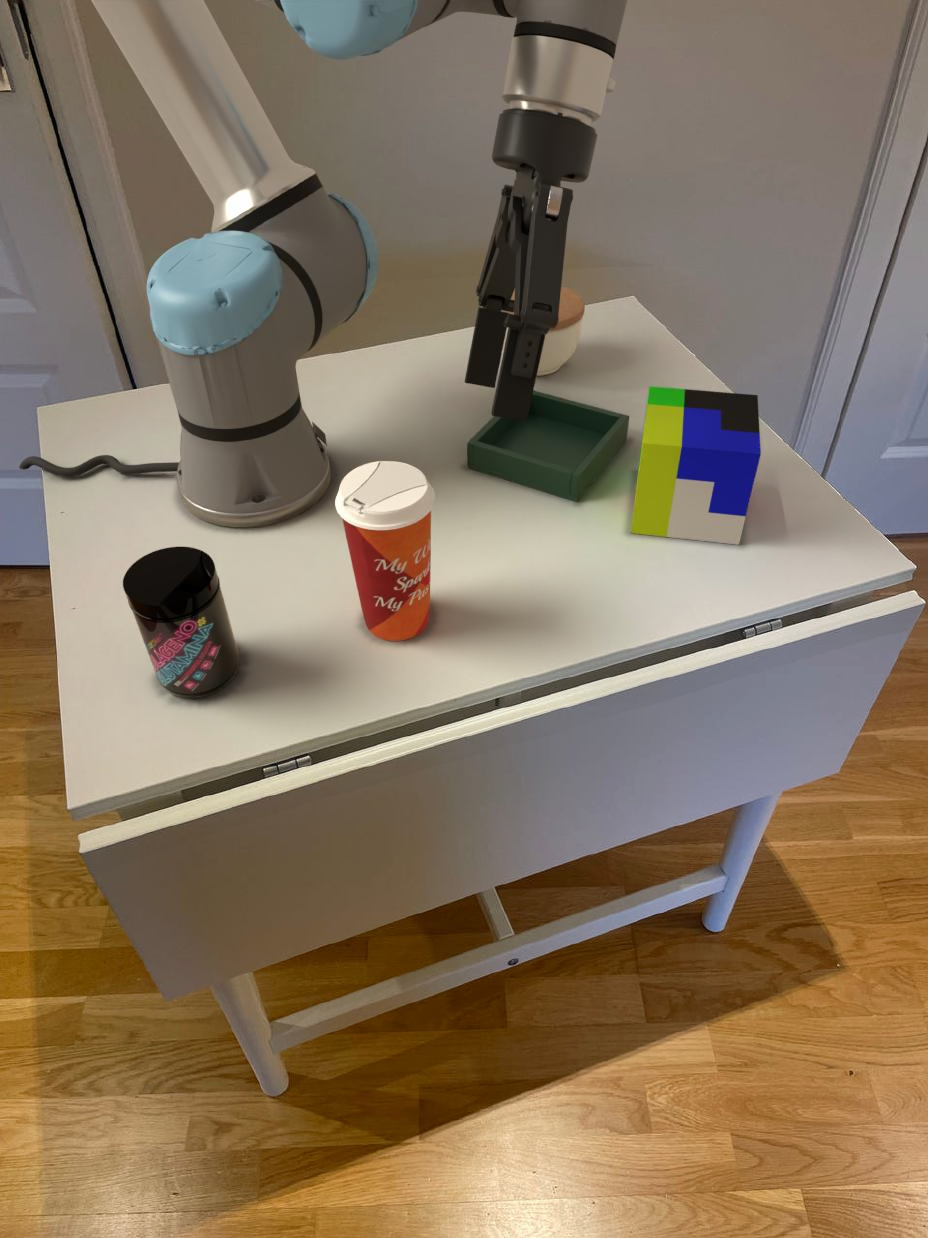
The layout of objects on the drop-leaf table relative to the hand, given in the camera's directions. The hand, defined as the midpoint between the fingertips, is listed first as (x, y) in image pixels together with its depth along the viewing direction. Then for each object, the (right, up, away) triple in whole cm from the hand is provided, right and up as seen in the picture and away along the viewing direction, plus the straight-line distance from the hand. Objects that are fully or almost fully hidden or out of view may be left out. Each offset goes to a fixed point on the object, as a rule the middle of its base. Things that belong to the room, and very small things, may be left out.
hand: (492, 400), depth 76 cm
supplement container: (-24, -23, -1) cm, 33 cm away
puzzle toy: (+19, -8, +13) cm, 25 cm away
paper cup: (-8, -18, +3) cm, 20 cm away
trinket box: (+6, +13, +35) cm, 38 cm away
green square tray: (+7, -1, +20) cm, 21 cm away
